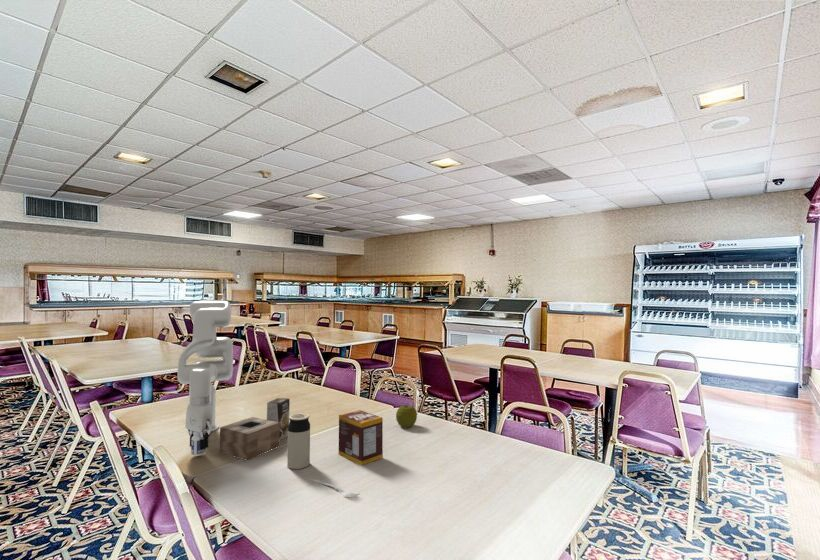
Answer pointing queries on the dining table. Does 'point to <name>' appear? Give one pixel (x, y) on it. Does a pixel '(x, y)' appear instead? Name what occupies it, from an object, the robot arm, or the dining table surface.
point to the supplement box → (360, 436)
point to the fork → (336, 488)
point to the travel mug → (298, 441)
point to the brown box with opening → (249, 437)
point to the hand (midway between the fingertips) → (198, 446)
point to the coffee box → (279, 414)
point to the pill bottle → (196, 444)
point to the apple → (406, 416)
